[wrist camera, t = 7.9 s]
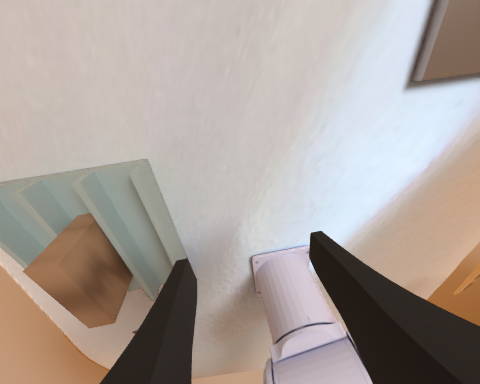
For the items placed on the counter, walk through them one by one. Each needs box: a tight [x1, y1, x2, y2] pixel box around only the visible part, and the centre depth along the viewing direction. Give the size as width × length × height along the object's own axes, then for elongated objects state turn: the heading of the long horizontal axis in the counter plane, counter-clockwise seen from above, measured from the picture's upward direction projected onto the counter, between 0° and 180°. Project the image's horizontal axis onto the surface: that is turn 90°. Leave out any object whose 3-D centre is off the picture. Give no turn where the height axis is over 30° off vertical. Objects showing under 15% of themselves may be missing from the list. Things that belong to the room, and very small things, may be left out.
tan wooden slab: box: [23, 213, 133, 328], centre depth 17 cm, size 8×2×6 cm, turn 7°
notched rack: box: [0, 159, 187, 301], centre depth 19 cm, size 16×13×3 cm
